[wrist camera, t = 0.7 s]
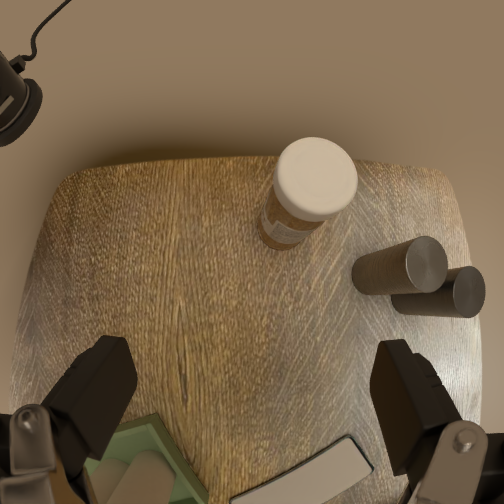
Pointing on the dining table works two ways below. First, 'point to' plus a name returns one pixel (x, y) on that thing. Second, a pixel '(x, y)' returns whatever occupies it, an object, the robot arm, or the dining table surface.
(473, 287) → the grey tin
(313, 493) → the smartphone
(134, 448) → the tray
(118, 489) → the spice bottle
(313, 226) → the sprinkles bottle
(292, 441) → the dining table surface
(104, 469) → the spice bottle
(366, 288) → the grey tin
